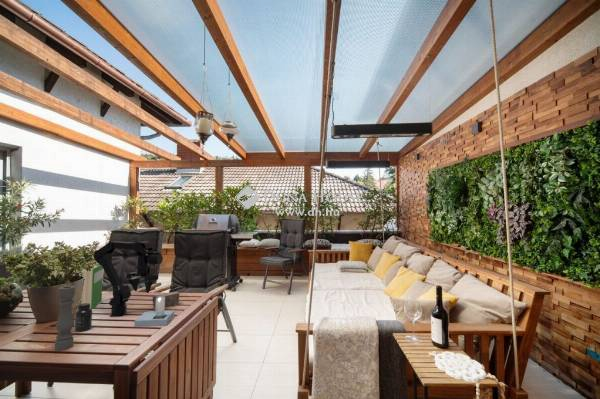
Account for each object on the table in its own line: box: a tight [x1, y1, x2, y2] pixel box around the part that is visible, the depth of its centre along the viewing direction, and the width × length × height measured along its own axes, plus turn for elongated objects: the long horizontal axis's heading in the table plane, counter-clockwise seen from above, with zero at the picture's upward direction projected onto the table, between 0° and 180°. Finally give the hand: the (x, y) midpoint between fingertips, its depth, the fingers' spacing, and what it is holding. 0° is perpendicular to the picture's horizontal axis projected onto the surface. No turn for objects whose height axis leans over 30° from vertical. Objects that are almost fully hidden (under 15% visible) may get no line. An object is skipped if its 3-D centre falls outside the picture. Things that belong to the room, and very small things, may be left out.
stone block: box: [152, 291, 180, 309], centre depth 184 cm, size 14×9×8 cm, turn 135°
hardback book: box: [79, 263, 104, 310], centre depth 185 cm, size 18×7×24 cm, turn 20°
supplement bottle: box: [73, 303, 93, 333], centre depth 146 cm, size 7×7×12 cm
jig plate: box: [134, 310, 175, 328], centre depth 158 cm, size 15×15×3 cm
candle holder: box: [54, 285, 76, 352], centre depth 126 cm, size 6×6×25 cm
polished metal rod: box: [154, 296, 166, 319], centre depth 156 cm, size 4×4×13 cm
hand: (141, 292), depth 167 cm, fingers open, 9 cm apart
